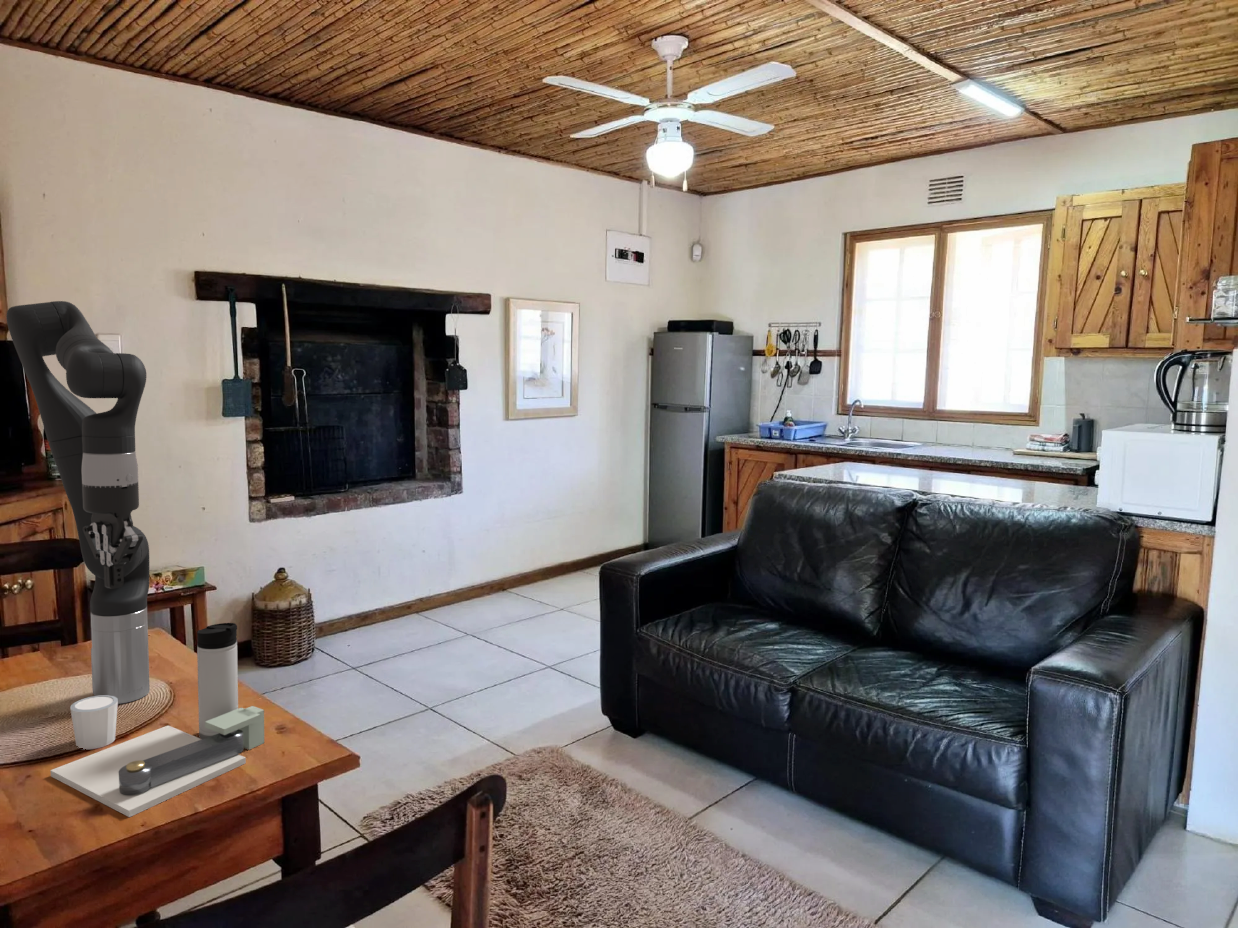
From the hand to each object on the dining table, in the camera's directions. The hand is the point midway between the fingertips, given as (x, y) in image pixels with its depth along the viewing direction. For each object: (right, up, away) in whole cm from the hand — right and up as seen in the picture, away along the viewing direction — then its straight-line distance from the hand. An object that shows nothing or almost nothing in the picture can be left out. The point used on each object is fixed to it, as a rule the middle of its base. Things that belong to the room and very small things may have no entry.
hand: (114, 587), depth 130 cm
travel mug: (+10, -28, +13) cm, 33 cm away
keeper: (+16, -29, +8) cm, 34 cm away
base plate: (+6, -29, +1) cm, 30 cm away
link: (+12, -29, -1) cm, 31 cm away
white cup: (-9, -28, +9) cm, 31 cm away
